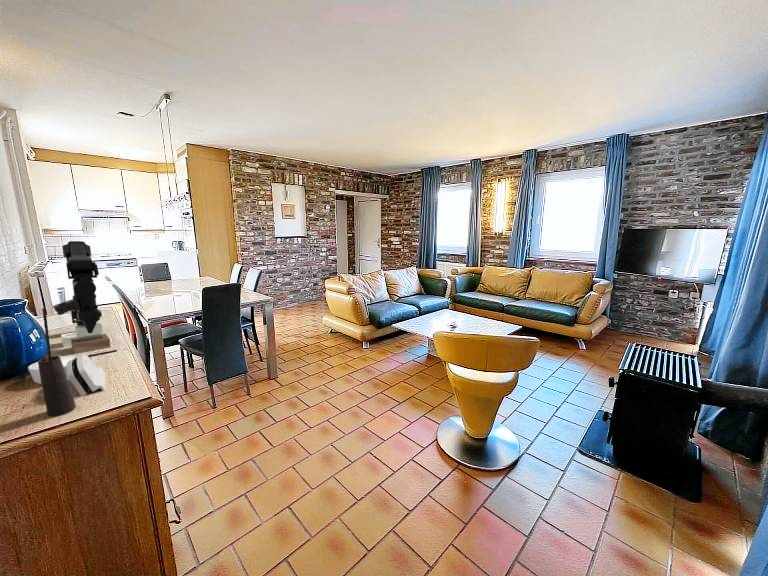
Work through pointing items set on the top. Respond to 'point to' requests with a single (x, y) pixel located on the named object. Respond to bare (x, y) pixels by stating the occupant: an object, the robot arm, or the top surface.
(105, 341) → the channel mount plate
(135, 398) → the top surface
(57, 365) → the butter churn
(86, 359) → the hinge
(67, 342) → the holder
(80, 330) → the pale grey block
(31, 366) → the ramekin
